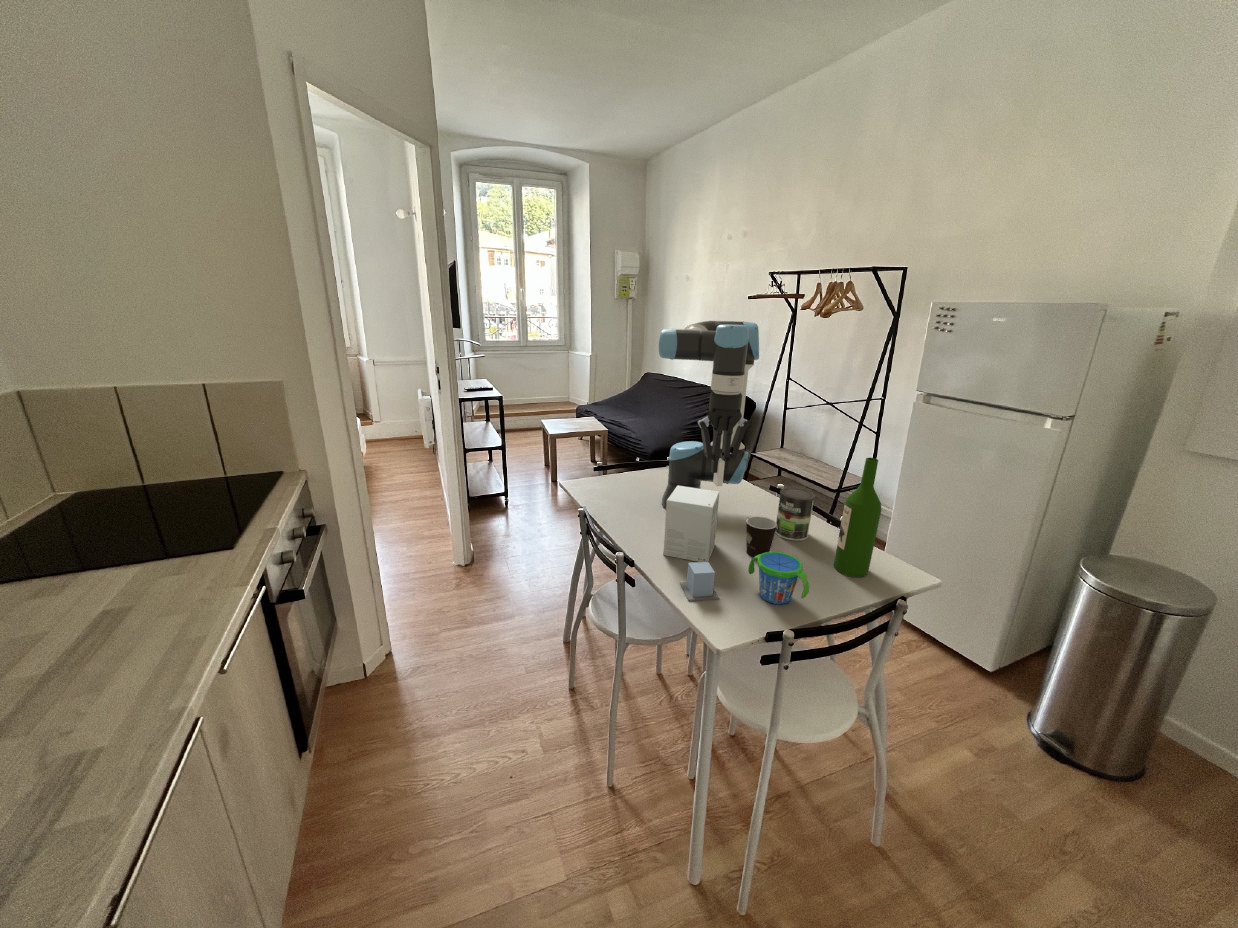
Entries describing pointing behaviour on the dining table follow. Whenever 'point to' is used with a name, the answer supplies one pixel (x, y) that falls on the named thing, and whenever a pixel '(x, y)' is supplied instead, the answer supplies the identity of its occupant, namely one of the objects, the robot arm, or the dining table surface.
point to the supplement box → (691, 523)
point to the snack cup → (778, 576)
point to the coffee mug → (759, 535)
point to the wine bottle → (859, 526)
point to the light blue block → (700, 579)
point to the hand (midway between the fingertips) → (717, 484)
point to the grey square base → (690, 598)
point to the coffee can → (794, 513)
